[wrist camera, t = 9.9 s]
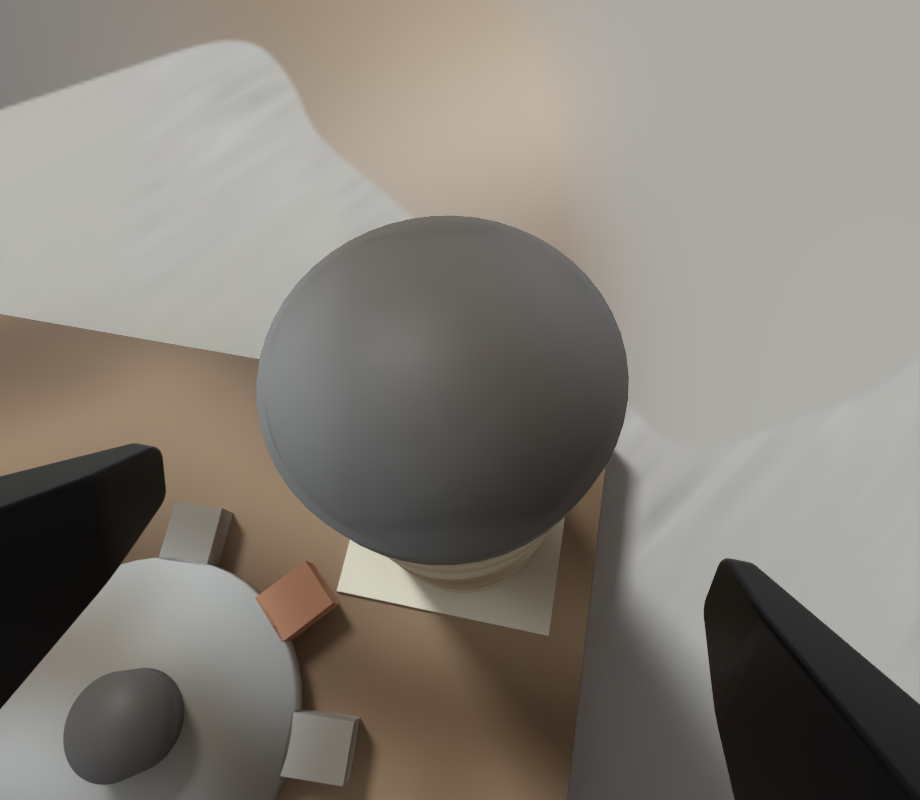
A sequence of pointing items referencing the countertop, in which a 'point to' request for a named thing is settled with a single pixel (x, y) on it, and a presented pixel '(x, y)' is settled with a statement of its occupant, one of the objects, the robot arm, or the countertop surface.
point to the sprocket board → (270, 617)
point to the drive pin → (443, 394)
